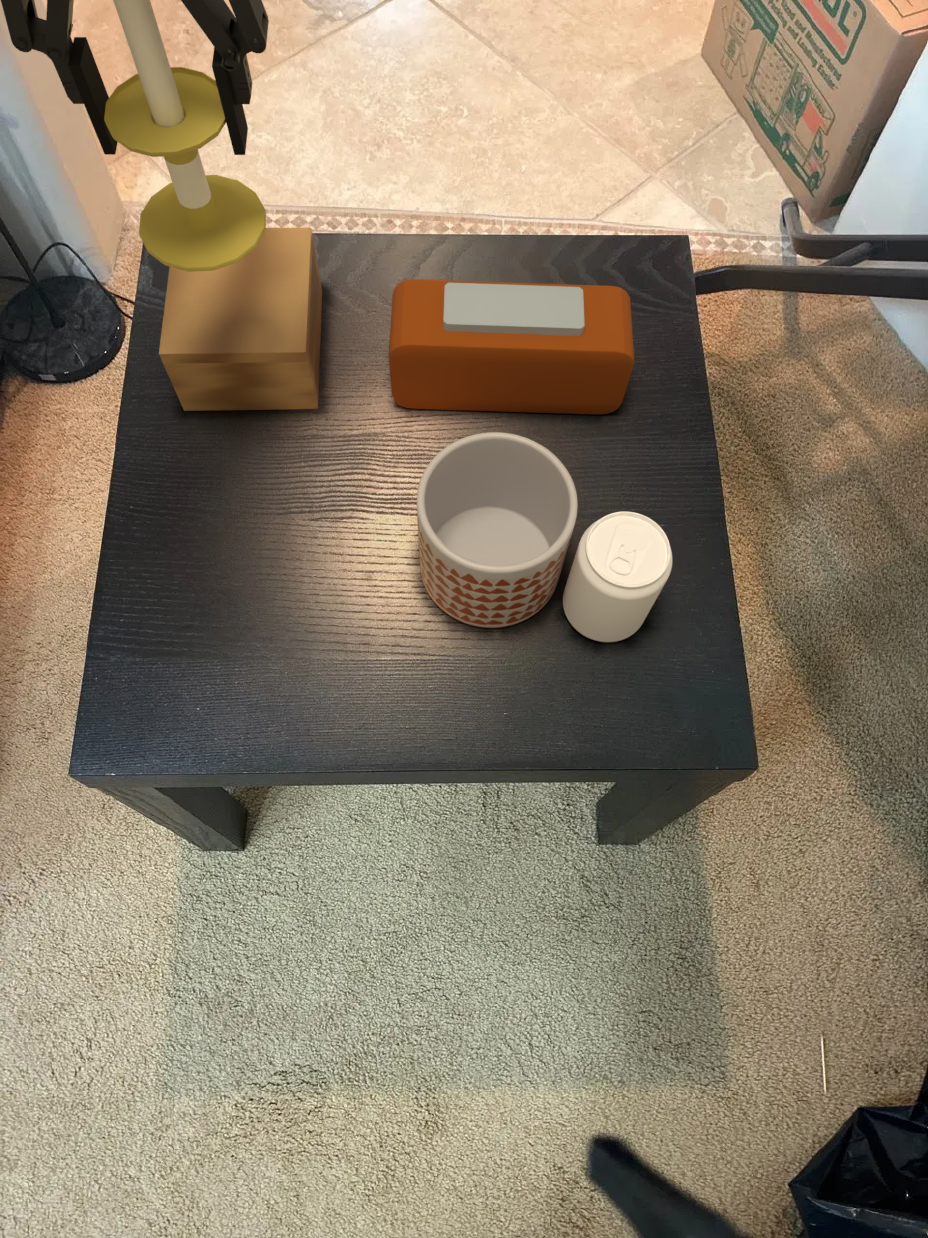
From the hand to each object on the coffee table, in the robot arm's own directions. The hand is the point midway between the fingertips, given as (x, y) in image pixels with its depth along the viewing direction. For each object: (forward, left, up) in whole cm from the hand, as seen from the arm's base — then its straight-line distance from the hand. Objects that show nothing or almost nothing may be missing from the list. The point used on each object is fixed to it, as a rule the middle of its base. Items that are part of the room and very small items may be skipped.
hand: (177, 140), depth 62 cm
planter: (+30, +2, -32) cm, 44 cm away
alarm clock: (+17, +20, -32) cm, 41 cm away
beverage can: (+41, +6, -32) cm, 52 cm away
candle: (0, 0, -8) cm, 8 cm away
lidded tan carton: (-6, +5, -32) cm, 33 cm away
